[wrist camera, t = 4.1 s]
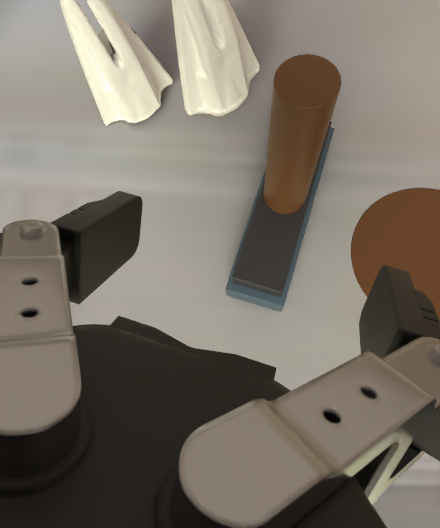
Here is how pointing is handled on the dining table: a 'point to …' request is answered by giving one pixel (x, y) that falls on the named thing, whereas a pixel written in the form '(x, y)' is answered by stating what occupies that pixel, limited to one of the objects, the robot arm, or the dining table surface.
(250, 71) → the shaker set
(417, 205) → the brown round coaster
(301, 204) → the sponge wiper
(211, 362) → the robot arm
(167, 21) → the dining table surface
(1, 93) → the dining table surface
